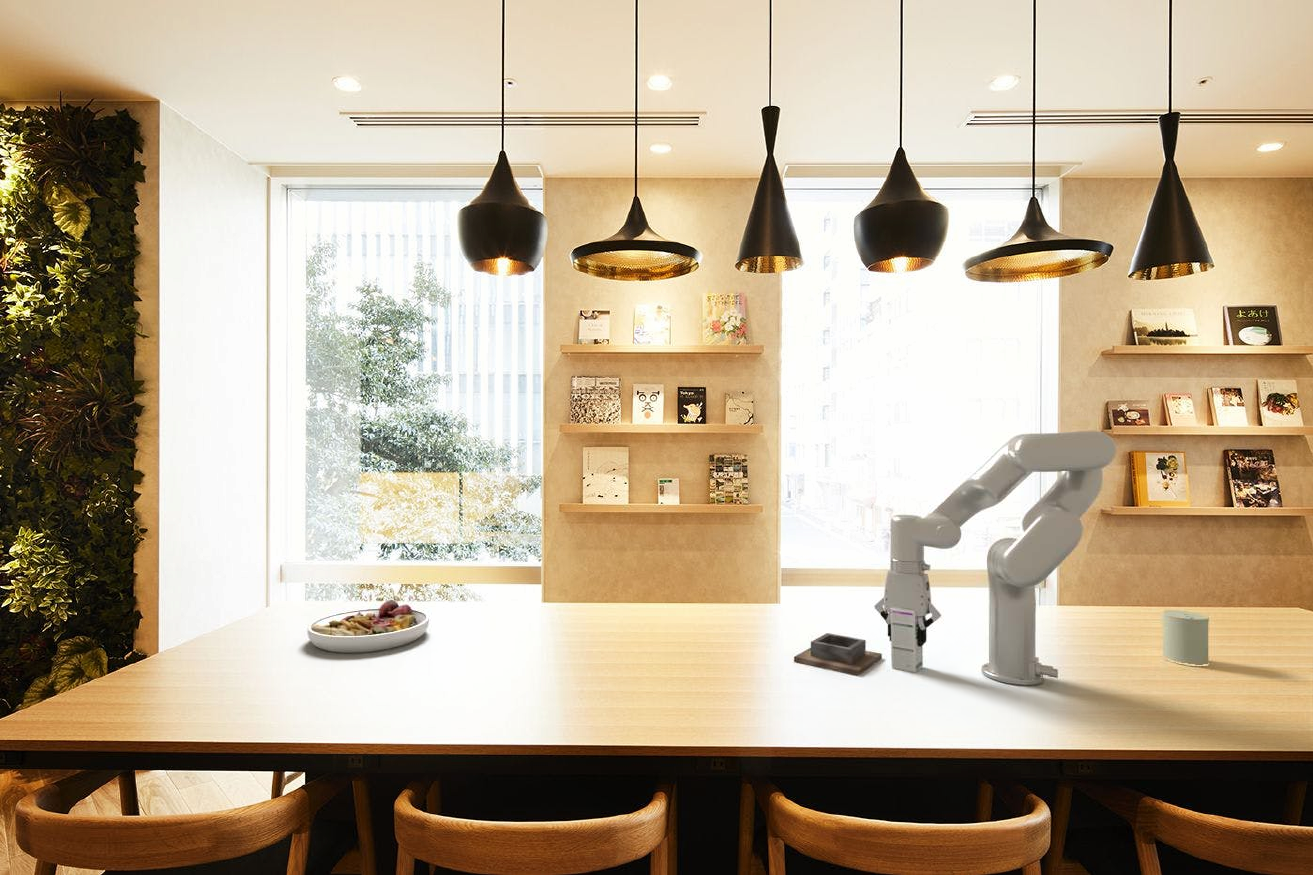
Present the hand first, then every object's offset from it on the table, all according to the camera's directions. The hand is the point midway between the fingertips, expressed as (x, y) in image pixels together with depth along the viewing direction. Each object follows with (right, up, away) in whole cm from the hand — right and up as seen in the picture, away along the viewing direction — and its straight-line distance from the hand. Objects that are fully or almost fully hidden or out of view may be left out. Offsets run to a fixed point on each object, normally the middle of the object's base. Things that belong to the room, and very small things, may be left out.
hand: (906, 641), depth 160 cm
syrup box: (0, -6, 0) cm, 6 cm away
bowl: (-137, -6, +20) cm, 139 cm away
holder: (-15, -6, +5) cm, 17 cm away
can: (+72, -7, +7) cm, 72 cm away
